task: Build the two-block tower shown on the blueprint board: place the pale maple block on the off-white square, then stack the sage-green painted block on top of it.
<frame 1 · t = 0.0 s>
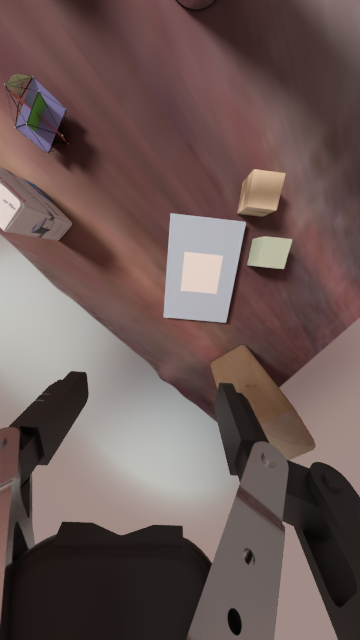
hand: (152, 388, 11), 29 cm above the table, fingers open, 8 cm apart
maple block: (252, 200, 33), on the table
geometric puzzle: (55, 133, 29), on the table
ink box: (48, 213, 33), on the table
wooden block: (234, 365, 45), on the table
blueprint board: (200, 273, 37), on the table
sage cap block: (261, 253, 36), on the table
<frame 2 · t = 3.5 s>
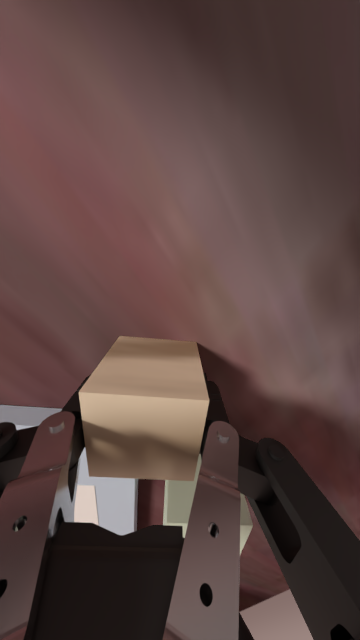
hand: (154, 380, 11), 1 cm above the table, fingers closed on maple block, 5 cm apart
maple block: (156, 371, 12), on the table, touching gripper
blueprint board: (63, 489, 17), on the table
sage cap block: (195, 458, 16), on the table
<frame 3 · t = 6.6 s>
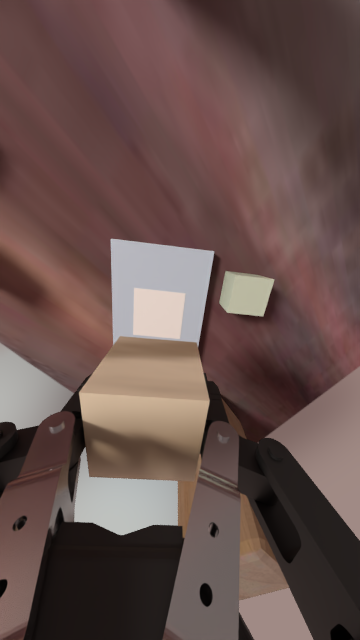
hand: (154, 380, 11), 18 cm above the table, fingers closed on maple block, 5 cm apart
maple block: (156, 371, 12), point 17 cm above the table, touching gripper
wooden block: (208, 415, 37), on the table
blueprint board: (159, 311, 29), on the table
sage cap block: (237, 289, 28), on the table
when the fingers open (4 cm above the table, at t = 9.9 s): maple block drops 1 cm, resting on blueprint board.
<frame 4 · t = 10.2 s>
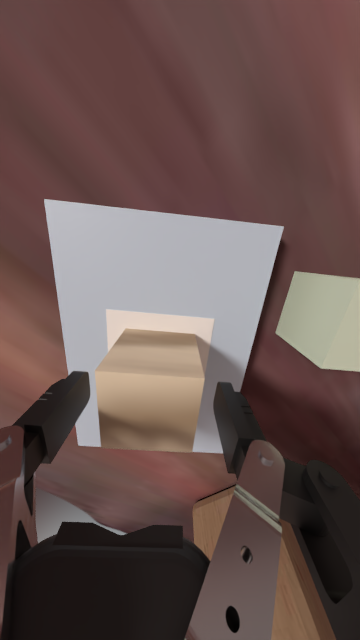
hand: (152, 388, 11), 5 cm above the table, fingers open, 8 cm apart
maple block: (158, 360, 14), point 2 cm above the table, touching blueprint board
wooden block: (241, 503, 23), on the table
blueprint board: (159, 350, 15), on the table
sage cap block: (314, 306, 14), on the table
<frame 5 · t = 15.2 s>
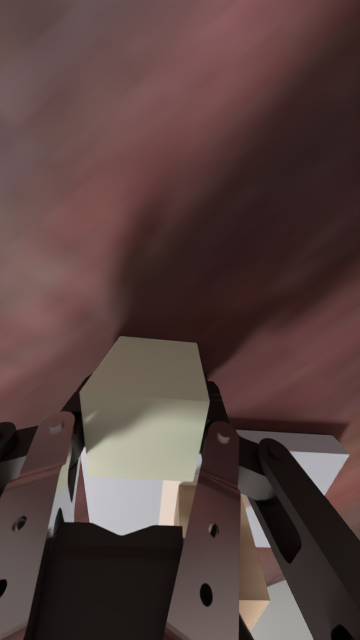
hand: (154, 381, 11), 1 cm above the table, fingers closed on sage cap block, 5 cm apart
maple block: (205, 504, 15), point 2 cm above the table, touching blueprint board
blueprint board: (202, 482, 16), on the table
sage cap block: (156, 371, 12), on the table, touching gripper
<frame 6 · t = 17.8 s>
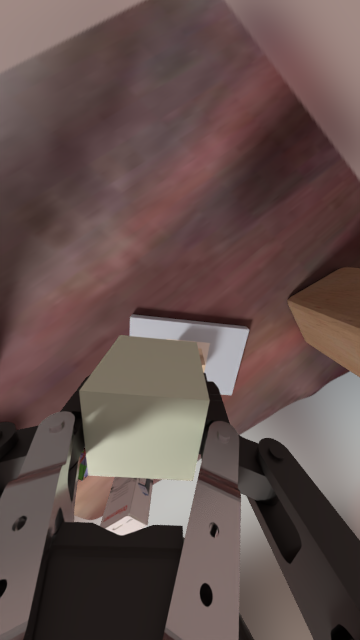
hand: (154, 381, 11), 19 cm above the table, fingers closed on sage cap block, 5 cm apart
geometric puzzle: (86, 446, 41), on the table
ink box: (137, 458, 43), on the table
wooden block: (320, 306, 30), on the table
blueprint board: (185, 355, 33), on the table
sage cap block: (156, 370, 12), point 18 cm above the table, touching gripper
when the fingers open (9 cm above the table, at t = 20.8 s): sage cap block drops 1 cm, resting on maple block.
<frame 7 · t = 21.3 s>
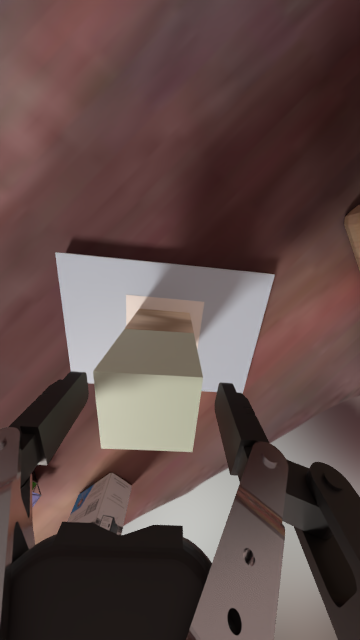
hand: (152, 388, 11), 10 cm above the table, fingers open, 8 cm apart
maple block: (163, 333, 18), point 2 cm above the table, touching blueprint board, sage cap block
ink box: (105, 487, 30), on the table
blueprint board: (164, 328, 20), on the table
sage cap block: (158, 360, 14), point 7 cm above the table, touching maple block
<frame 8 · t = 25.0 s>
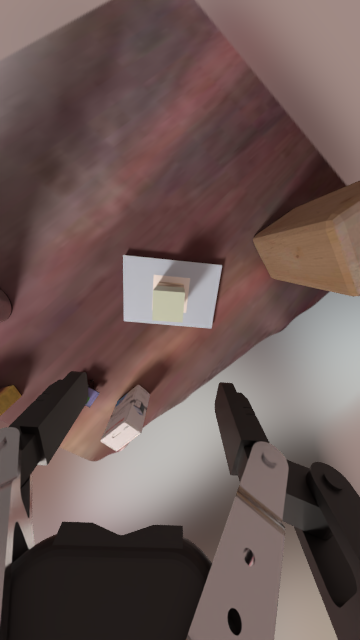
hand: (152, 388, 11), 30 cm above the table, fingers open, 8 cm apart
maple block: (170, 294, 38), point 2 cm above the table, touching blueprint board, sage cap block
candy box: (5, 393, 48), on the table
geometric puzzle: (89, 384, 47), on the table
ink box: (133, 396, 49), on the table
wooden block: (281, 245, 36), on the table
blueprint board: (170, 293, 39), on the table
sage cap block: (169, 299, 33), point 7 cm above the table, touching maple block
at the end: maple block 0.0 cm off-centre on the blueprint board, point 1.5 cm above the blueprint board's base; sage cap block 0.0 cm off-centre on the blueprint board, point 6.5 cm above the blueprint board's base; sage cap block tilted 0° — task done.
